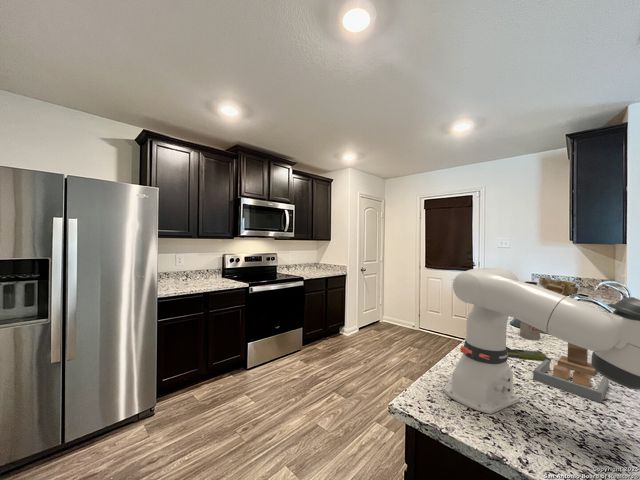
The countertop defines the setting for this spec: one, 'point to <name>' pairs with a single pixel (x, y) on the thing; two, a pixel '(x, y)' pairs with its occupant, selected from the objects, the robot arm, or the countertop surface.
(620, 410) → the countertop surface
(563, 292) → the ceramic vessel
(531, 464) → the countertop surface
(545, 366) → the grey u-shaped frame
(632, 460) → the countertop surface
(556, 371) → the offcut left
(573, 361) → the wooden post block
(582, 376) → the offcut right
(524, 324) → the thermos bottle
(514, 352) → the gun
